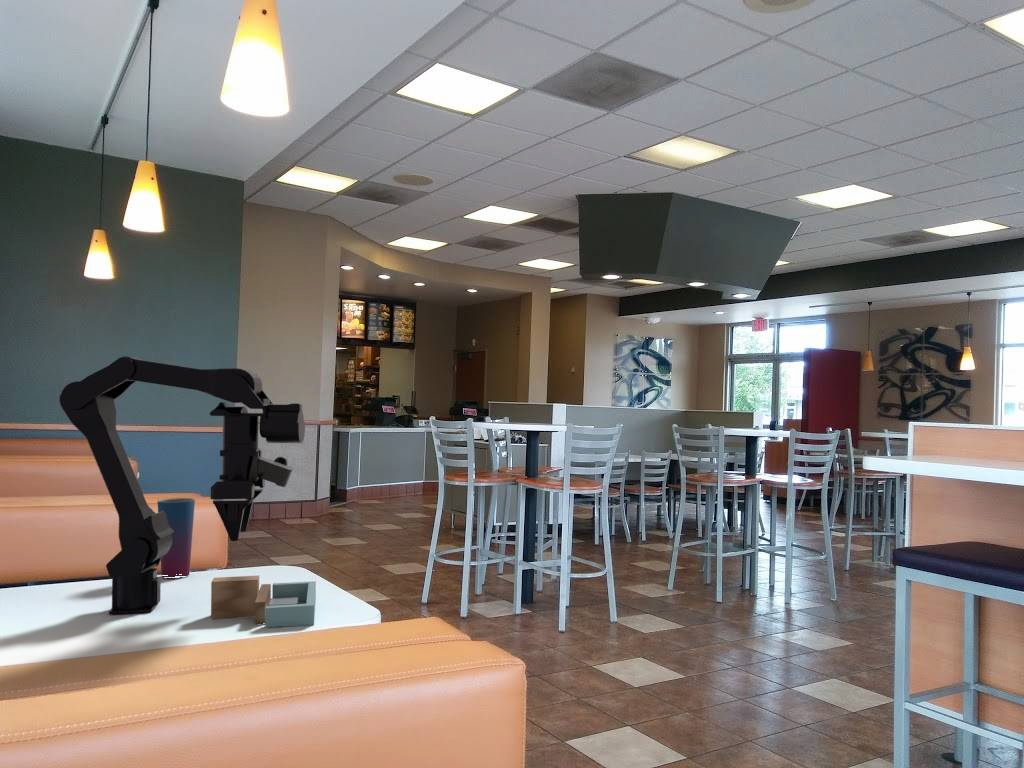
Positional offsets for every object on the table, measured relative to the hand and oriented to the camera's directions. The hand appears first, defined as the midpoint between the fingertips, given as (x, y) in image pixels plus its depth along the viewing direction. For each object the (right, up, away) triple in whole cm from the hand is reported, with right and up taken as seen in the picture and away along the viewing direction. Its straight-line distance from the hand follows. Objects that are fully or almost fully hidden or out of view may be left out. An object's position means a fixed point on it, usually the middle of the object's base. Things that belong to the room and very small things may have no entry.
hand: (238, 536), depth 129 cm
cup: (-20, -13, +22) cm, 33 cm away
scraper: (+1, -12, -5) cm, 13 cm away
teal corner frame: (+9, -12, -4) cm, 15 cm away
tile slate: (+8, -12, 0) cm, 15 cm away
